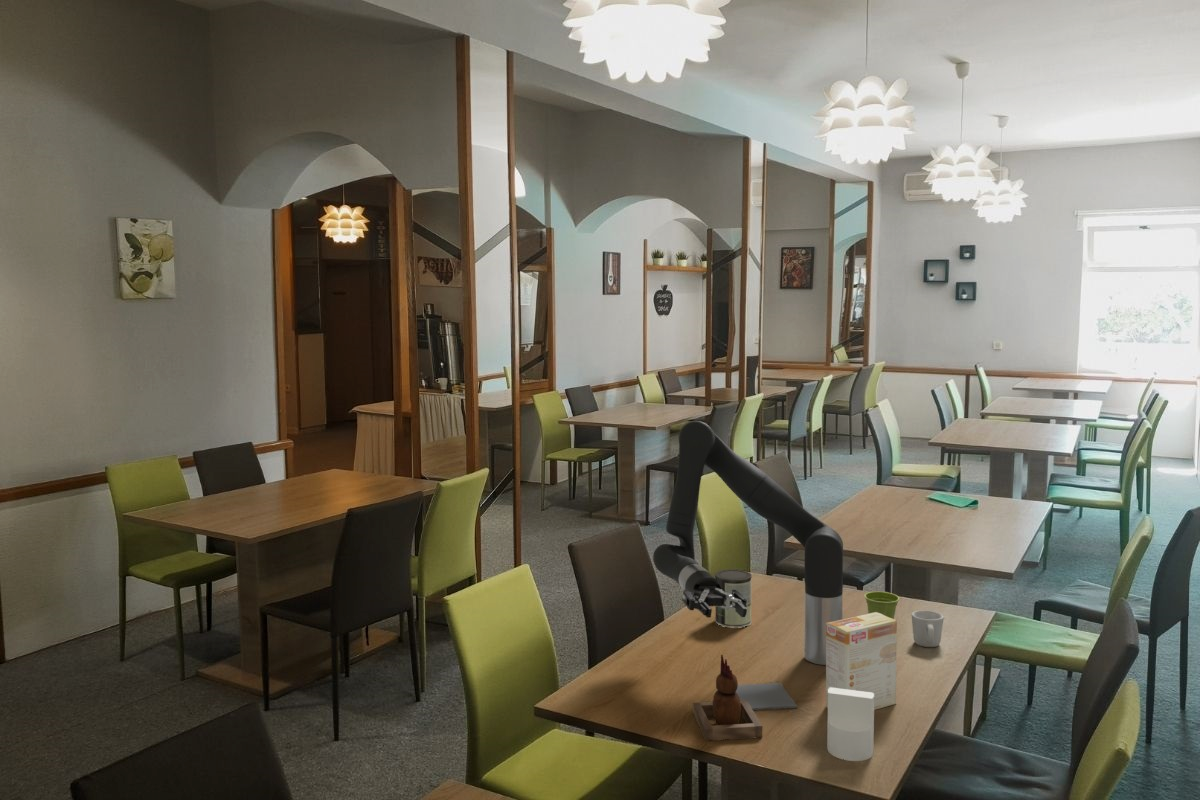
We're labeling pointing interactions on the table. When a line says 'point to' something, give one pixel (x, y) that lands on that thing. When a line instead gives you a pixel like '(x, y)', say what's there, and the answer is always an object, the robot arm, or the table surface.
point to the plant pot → (882, 603)
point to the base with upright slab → (850, 724)
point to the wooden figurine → (726, 697)
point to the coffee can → (730, 617)
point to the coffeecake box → (863, 656)
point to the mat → (765, 696)
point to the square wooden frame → (727, 731)
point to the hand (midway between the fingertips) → (727, 613)
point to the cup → (927, 628)
